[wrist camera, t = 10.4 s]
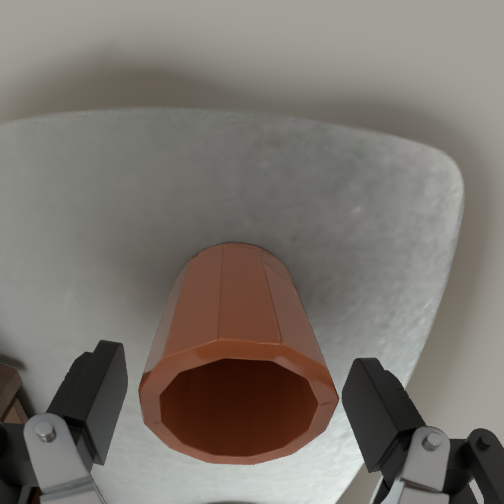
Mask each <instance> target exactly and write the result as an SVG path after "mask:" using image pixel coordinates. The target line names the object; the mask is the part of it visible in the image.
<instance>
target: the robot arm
mask: <svg viewBox="0 0 504 504" xmlns="http://www.w3.org/2000/svg"><path fill="white" fill-rule="evenodd" d="M127 386H128V375H127V369H126V361H125V354H124V347H123V344H122V343H118V342H112V341H106V340H100V341H99V343H98V345H97V347H96V348H95V350H94V352H93V353H90V352H85V353H83V354H82V355H81V356H79V357H78V358H77V359H75V361H74V363H73V364H72V366H71V368H70V369H69V372H68V373H67V375H66V376H65V378H64V381H63V382H62V384H61V385H60V387H59V389H58V391H57V393H56V395H55V396H54V398H53V400H52V402H51V404H50V406H49V408H48V410H47V411H46V413H40V414H37V415H35V416H33V417H31V418H30V419H29V420H28V421H27V422H26V424H15V423H2V422H1V421H0V504H26V502H27V499H28V495H29V492H30V489H31V486H34V487H40V489H41V494H40V495H39V499H40V502H41V504H106V502H105V500H104V498H103V497H102V495H101V493H100V491H99V489H98V487H97V486H96V484H95V482H94V480H93V478H92V476H91V474H90V472H91V469H92V465H93V463H95V464H98V465H103V466H104V463H105V460H106V456H107V453H108V449H109V446H110V443H111V439H112V436H113V433H114V430H115V426H116V423H117V420H118V417H119V414H120V411H121V408H122V404H123V401H124V398H125V395H126V392H127ZM342 404H343V407H344V409H345V412H346V414H347V417H348V419H349V422H350V425H351V427H352V430H353V432H354V435H355V438H356V440H357V443H358V445H359V448H360V451H361V453H362V456H363V459H364V461H365V464H366V467H367V469H368V472H369V473H371V472H376V471H381V472H382V475H383V476H382V477H381V478H380V480H379V482H378V484H377V487H376V489H375V491H374V494H373V496H372V498H371V501H370V503H369V504H478V503H477V500H476V498H475V496H474V494H473V492H472V490H471V488H470V486H469V483H470V482H471V481H472V480H473V479H475V481H476V483H477V485H478V487H479V489H480V491H481V493H482V495H483V498H484V504H504V448H503V446H502V445H501V443H500V441H499V440H498V438H497V437H496V436H495V435H494V434H493V433H492V432H491V431H489V430H487V429H482V428H479V429H475V430H473V431H472V432H471V433H470V435H469V436H468V437H467V439H449V438H448V436H447V435H446V434H445V433H444V432H443V431H442V430H440V429H438V428H436V427H432V426H426V424H425V422H424V421H423V419H422V417H421V415H420V414H419V412H418V410H417V409H416V407H415V406H414V404H413V402H412V401H411V399H410V398H409V396H408V394H407V392H406V391H405V390H404V388H403V386H402V384H401V383H400V381H399V379H398V378H397V377H395V376H394V375H393V374H392V373H391V372H389V371H388V370H384V369H383V367H382V365H381V364H380V362H379V360H378V359H377V358H356V359H355V360H354V362H353V364H352V366H351V369H350V372H349V374H348V377H347V380H346V382H345V385H344V387H343V390H342Z"/></svg>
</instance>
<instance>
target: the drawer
mask: <svg viewBox="0 0 504 504" xmlns="http://www.w3.org/2000/svg"><path fill="white" fill-rule="evenodd" d="M21 384H22V381H21V378H20V376H19V373H18V371H17V369H14V368H11V367H8V366H5V365H2V364H0V421H1V422H2V423H15V424H26V422H27V421H28V418H27V416H26V414H25V412H24V410H23V408H22V406H21V404H20V402H19V400H18V398H16V397H14V395H15V394H16V392H17V390H18V389H19V387H20V386H21ZM36 489H37V487H34V486H31V489H30V492H29V495H28V499H27V502H26V504H31V503H32V501H33V498H34V495H35V492H36Z"/></svg>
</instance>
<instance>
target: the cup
mask: <svg viewBox="0 0 504 504" xmlns="http://www.w3.org/2000/svg"><path fill="white" fill-rule="evenodd" d="M138 392H139V399H140V405H141V411H142V417H143V422H144V424H145V425H146V426H147V427H148V428H149V429H150V430H151V431H152V432H153V433H154V434H155V435H156V436H157V437H158V438H159V439H160V440H161V441H162V442H163V443H164V444H166V445H167V446H168V447H169V448H171V449H173V450H175V451H178V452H180V453H183V454H185V455H188V456H191V457H193V458H196V459H199V460H202V461H204V462H207V463H214V464H234V465H252V464H253V465H255V464H259V463H263V462H266V461H270V460H274V459H278V458H281V457H285V456H288V455H291V454H293V453H295V452H297V451H298V450H300V449H301V448H302V447H304V446H305V445H307V444H308V443H309V442H311V441H312V440H314V439H315V438H316V437H318V436H319V435H320V434H322V433H323V432H324V431H325V430H326V428H327V426H328V424H329V422H330V420H331V417H332V415H333V413H334V411H335V408H336V406H337V404H338V401H339V397H338V394H337V392H336V389H335V386H334V384H333V381H332V378H331V376H330V373H329V370H328V368H327V365H326V363H325V360H324V358H323V355H322V353H321V350H320V348H319V345H318V342H317V340H316V337H315V335H314V332H313V330H312V327H311V325H310V322H309V320H308V318H307V315H306V313H305V310H304V308H303V305H302V303H301V300H300V298H299V295H298V293H297V291H296V288H295V286H294V283H293V281H292V278H291V276H290V274H289V271H288V270H287V268H285V266H284V265H283V264H282V263H281V262H280V261H279V260H278V259H277V258H276V257H275V256H273V255H272V254H271V253H269V252H267V251H266V250H264V249H261V248H259V247H256V246H253V245H249V244H243V243H225V244H220V245H215V246H213V247H210V248H207V249H205V250H203V251H201V252H199V253H198V254H197V255H195V256H194V257H193V258H191V259H190V260H189V261H188V262H187V263H186V265H185V266H184V267H183V268H182V270H181V272H180V273H179V275H178V278H177V280H176V281H175V283H174V284H173V286H172V289H171V291H170V294H169V297H168V300H167V303H166V306H165V308H164V311H163V314H162V317H161V320H160V323H159V326H158V329H157V332H156V335H155V338H154V341H153V344H152V347H151V350H150V353H149V357H148V360H147V363H146V366H145V369H144V372H143V376H142V379H141V382H140V386H139V389H138Z"/></svg>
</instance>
